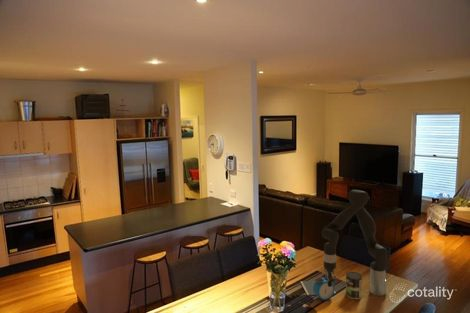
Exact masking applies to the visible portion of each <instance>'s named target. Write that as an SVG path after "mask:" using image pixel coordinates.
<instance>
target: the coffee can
mask: <svg viewBox="0 0 470 313" xmlns="http://www.w3.org/2000/svg"><path fill="white" fill-rule="evenodd" d="M362 293H363V275H362V274H361V273H359V272H356V271H348V272H346V273H345V295H346V297H348V298H349V299H351V300H360V299H362V297H363V294H362Z"/></svg>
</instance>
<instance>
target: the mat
mask: <svg viewBox="0 0 470 313" xmlns="http://www.w3.org/2000/svg"><path fill="white" fill-rule="evenodd" d="M315 282H316V279H315V280H304V281H303V280H302V281H300V285H301V286H302V288H303V290H304V292H305V294H306V296H307V297H309V296H317V295H316V294H315V293H314V291H313V286H314V283H315ZM336 294H337V292H336V291H334V294H333V295H336Z"/></svg>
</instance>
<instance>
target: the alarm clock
mask: <svg viewBox="0 0 470 313" xmlns="http://www.w3.org/2000/svg"><path fill="white" fill-rule="evenodd" d="M315 280H316V282H315V283H314V286H313V291H314V293H315V294H316V295H315V296H316V297H318V299H320V301H321V302H322V301H327V300H329V299H331V298H332V297H333V296H334V295H335V294H334V291H335V289H336V288H335V284H334V283H333V282H332V286H331V287H328V280H327V278H326V275H325V276H324V277H321V276H318V277H316V278H315ZM335 292H336V291H335Z"/></svg>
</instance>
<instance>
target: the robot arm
mask: <svg viewBox="0 0 470 313" xmlns="http://www.w3.org/2000/svg"><path fill="white" fill-rule="evenodd" d="M369 198H370V197H369V193H368V192H366V191H363V190H360V189H352V190H349V193H348V200H349V203H350V205H349V207H347V208H346V209H344V210H342V211H340V212H339V213H338V214H337V216H335V218H334V219H333V221H331V222H330V223H329V224H327V225H326V226H324V228H322V230H321V237H322V238H324V239H325V240H328V242H325V243H324V245H323V268H324V274H326V275H325V276H326V278H327V280H328V287H331V286H332V283H333V282H334V281H335V279H336V275H334V274H335V271H334V270H336V269H337V246H338V245H337V244H338V241H339V238H340V234H339V232H338V231H341V230H343V229H344V227H345V226H346V224H347V223H348V222H349V221H350V220H351V218H353V216H356V218H357V220H358V223H359V224H358V225H359V226H360V229H361V232H362V235H363V237H364V240H365V243H366V247H367V251H368V254H369V255H370V256H371V257H372V258H374V261H372V262H371V263H370V278H369V279H370V281H369V282H370V286H369V291H370V293H371V294H372V295H373V296H377V297H382V296H385V295H387V280H386V267H387V266H388V258H389V257H388V256H389V254H388V250H387V248H386V247H384V246H382V245H381V244H379V243H378V241H377V238H376V233H377V225H376V222H375V220H374V218H373V217H372V216H371V214H370V213H369V212H368V211H367V210H366V208H365V205H366V204H367V203H368V201H369Z"/></svg>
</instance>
